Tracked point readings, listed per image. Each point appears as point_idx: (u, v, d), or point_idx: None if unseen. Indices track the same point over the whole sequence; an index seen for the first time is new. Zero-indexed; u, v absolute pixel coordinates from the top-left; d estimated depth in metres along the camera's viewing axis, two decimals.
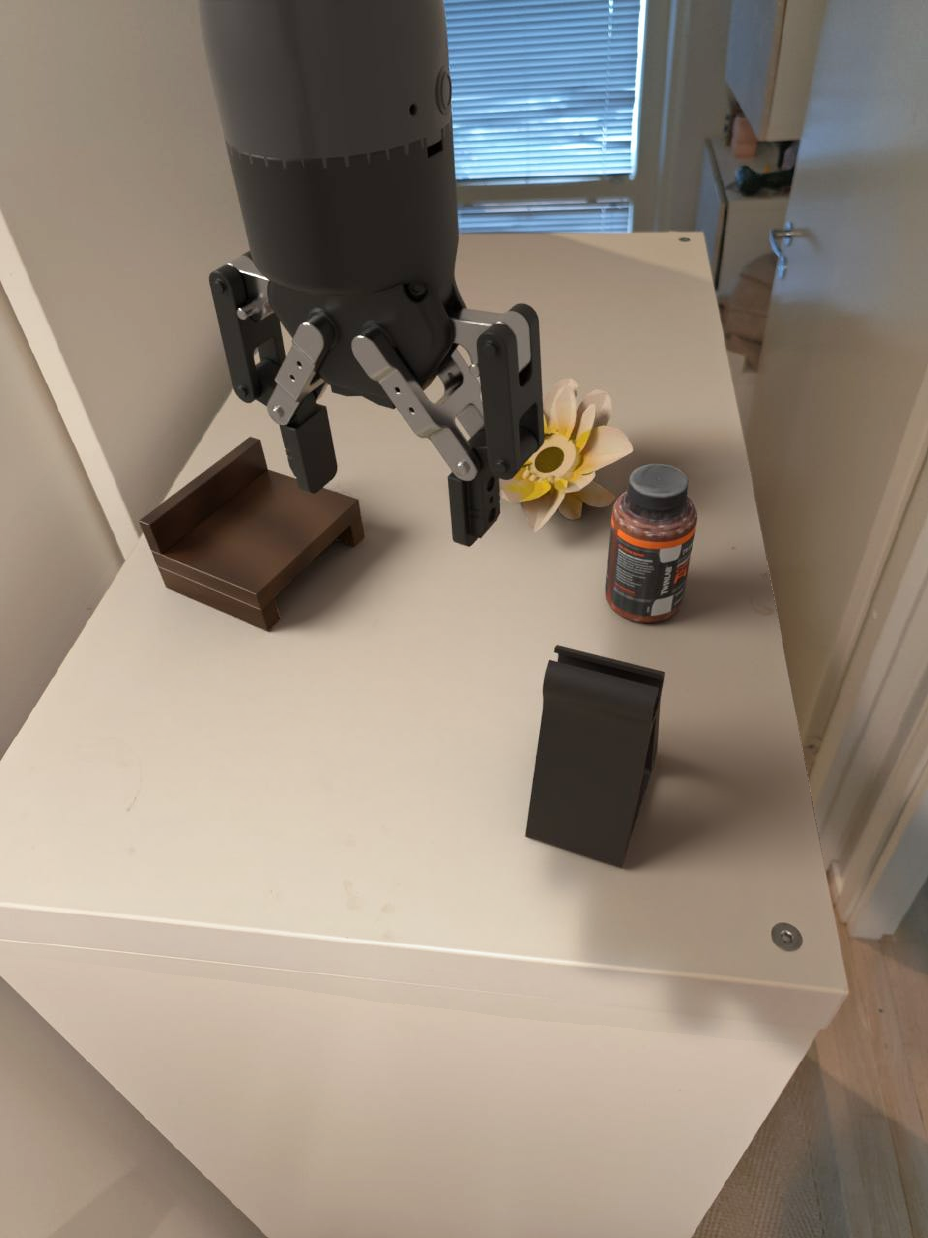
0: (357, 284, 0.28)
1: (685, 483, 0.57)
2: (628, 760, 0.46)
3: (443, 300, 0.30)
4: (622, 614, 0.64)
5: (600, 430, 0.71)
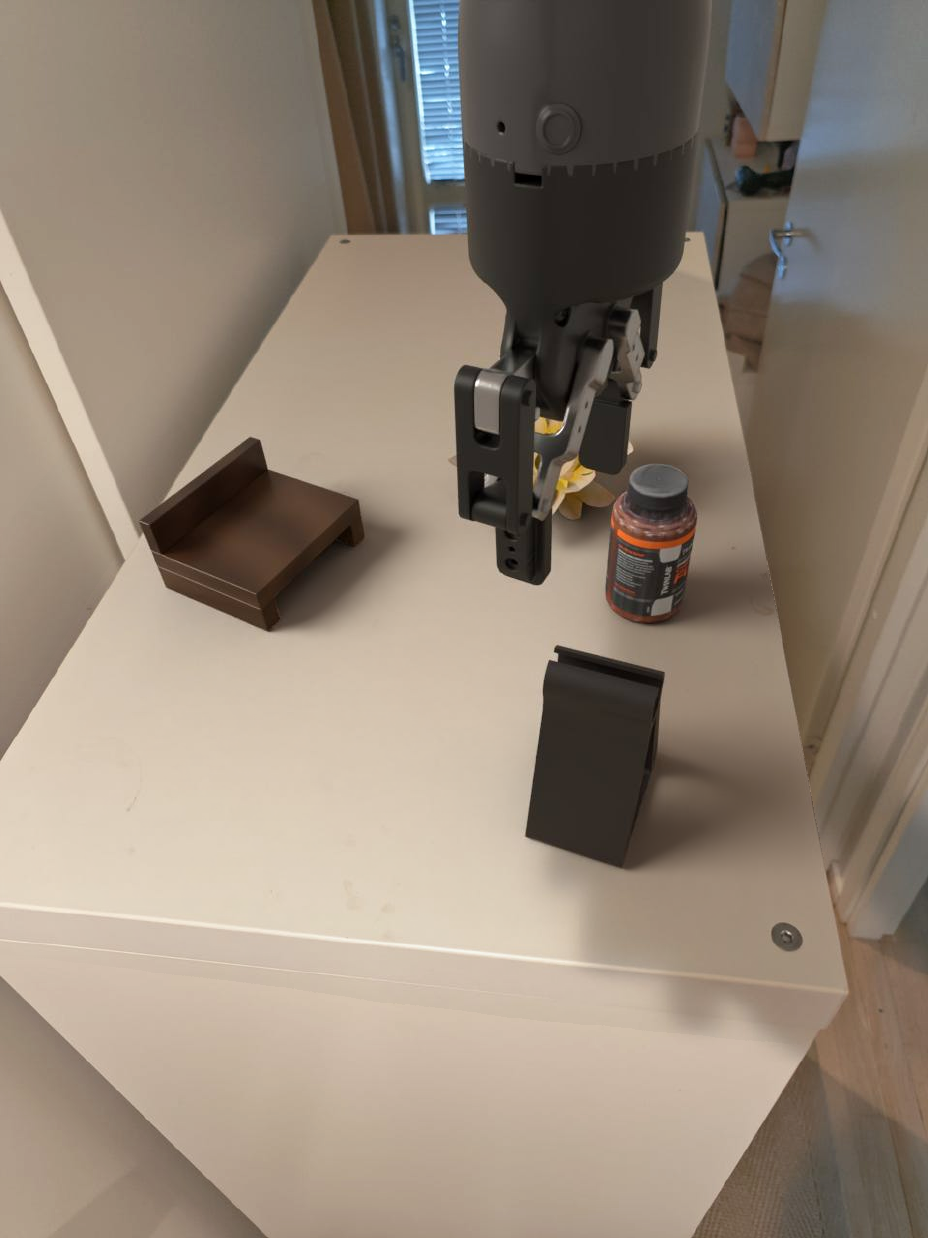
0: (469, 260, 0.30)
1: (685, 483, 0.57)
2: (628, 760, 0.46)
3: (523, 332, 0.29)
4: (622, 614, 0.64)
5: None
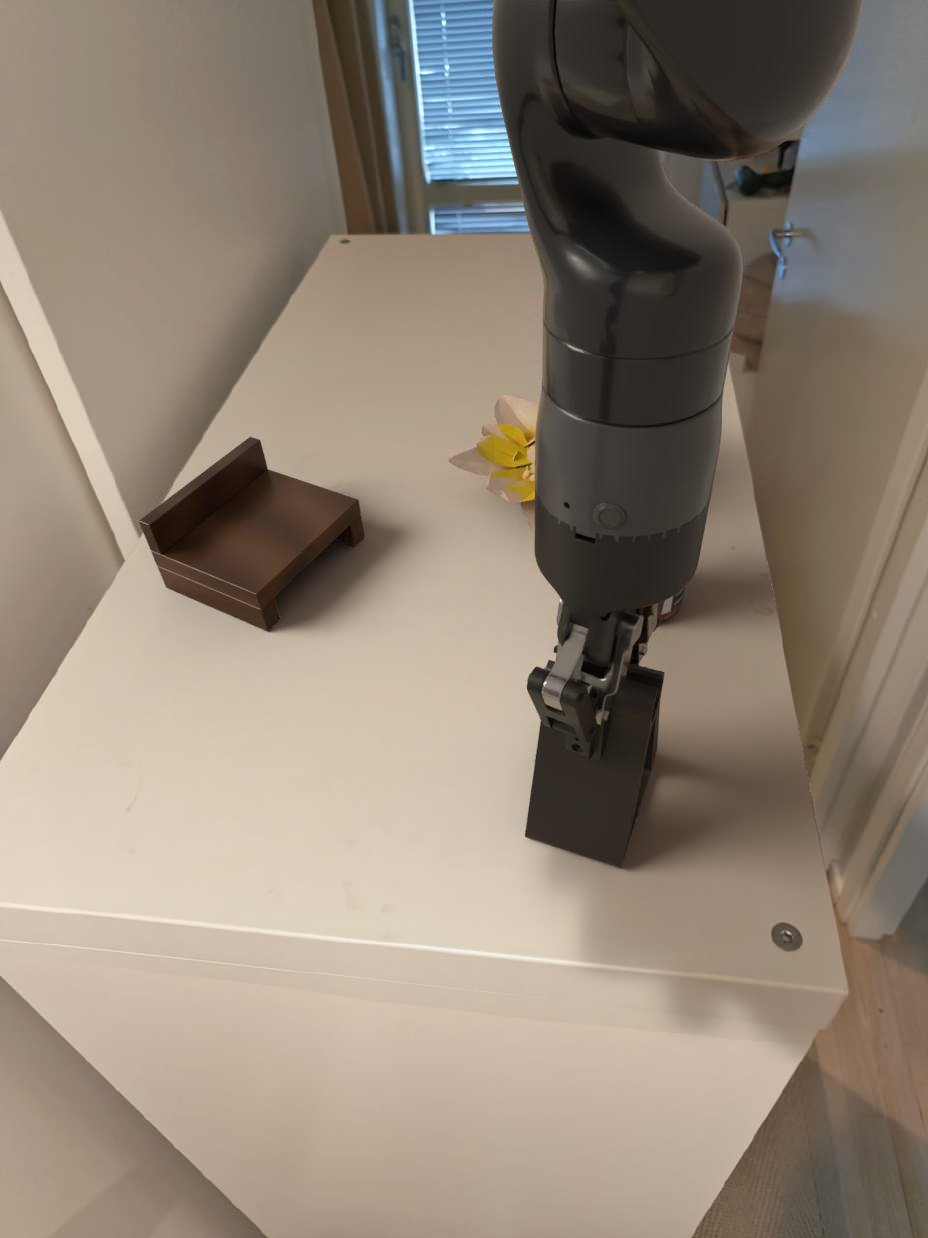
0: None
1: None
2: (628, 760, 0.46)
3: (576, 621, 0.38)
4: None
5: None
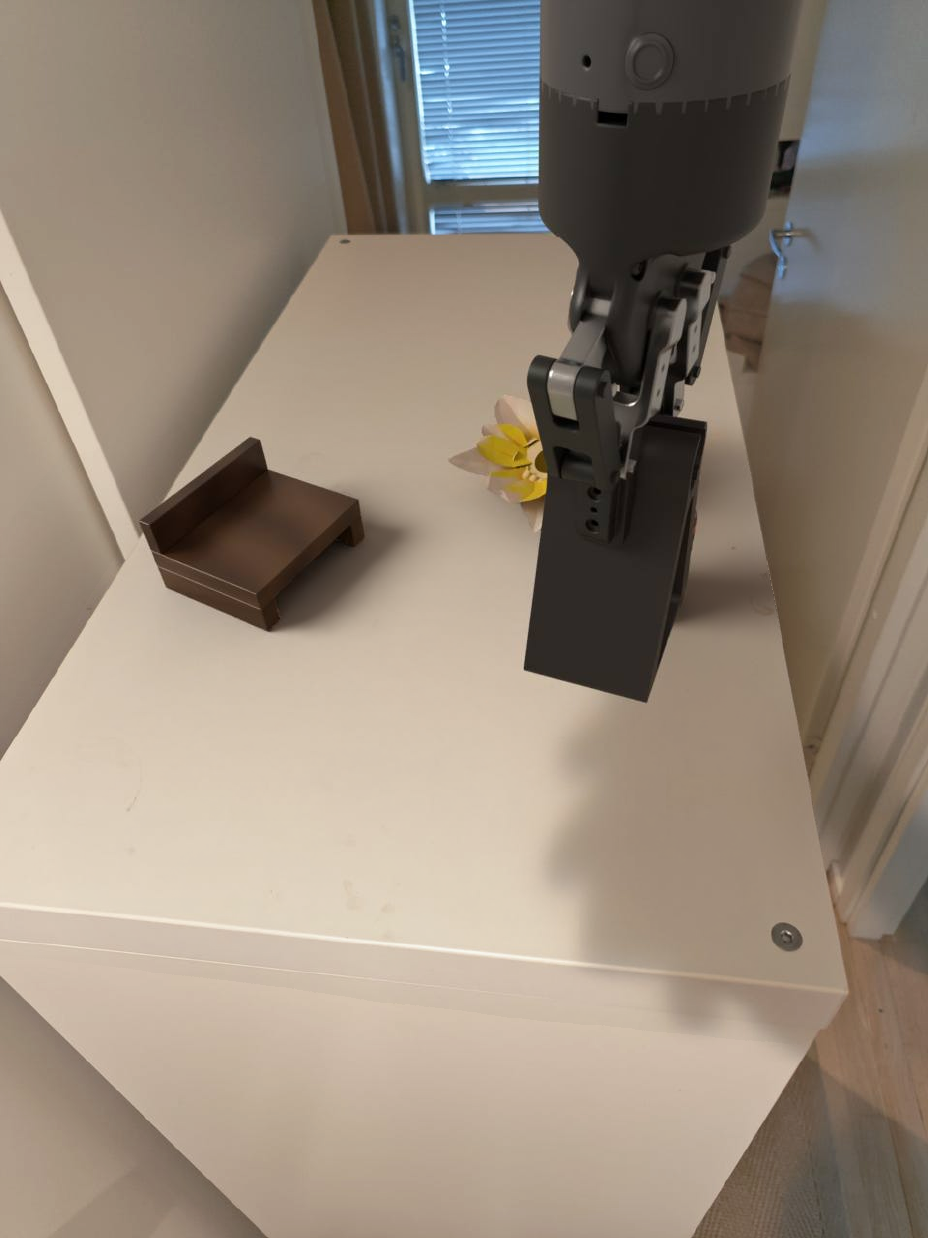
0: (539, 212, 0.28)
1: None
2: (658, 547, 0.36)
3: (596, 287, 0.27)
4: None
5: None
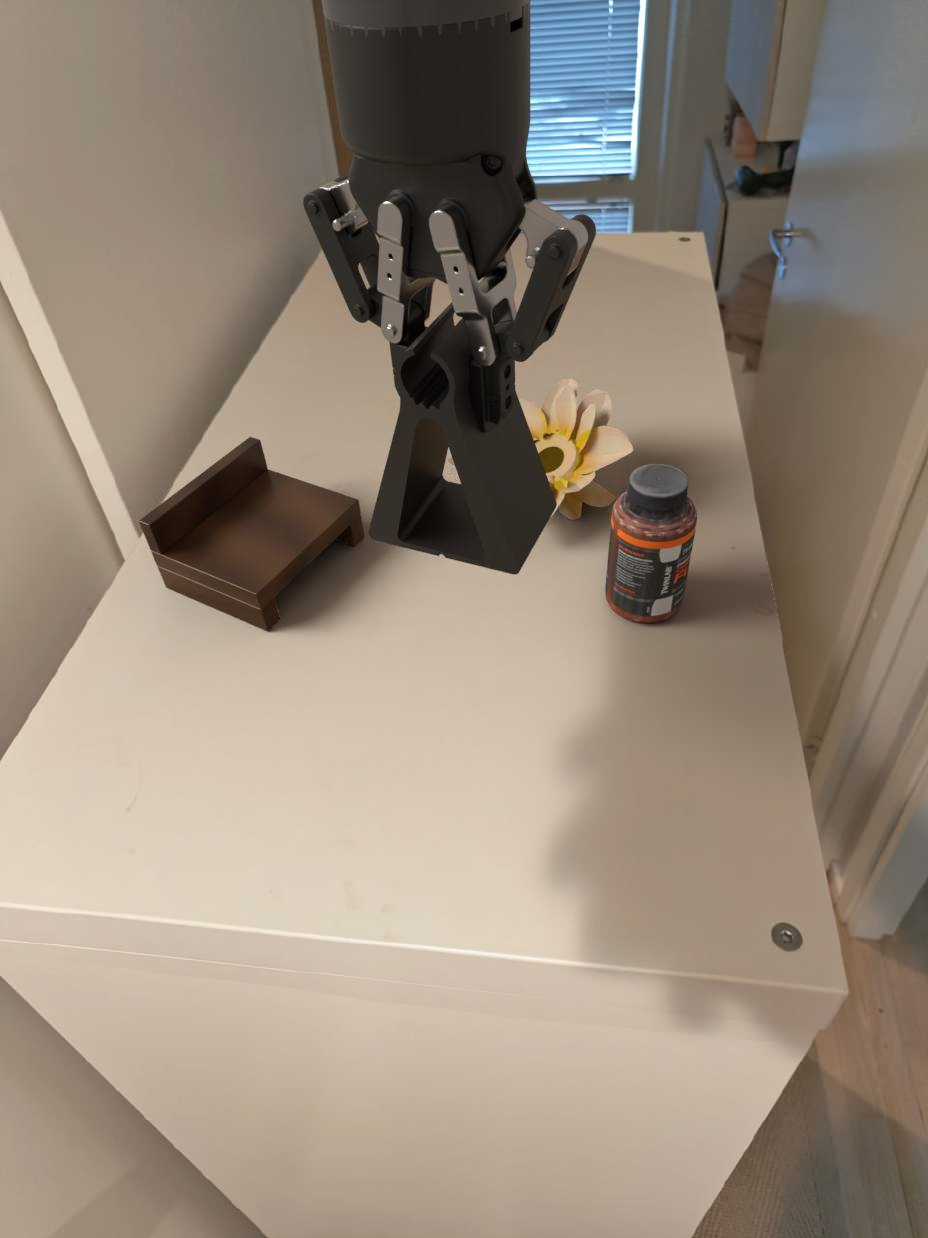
0: (441, 152, 0.31)
1: (685, 483, 0.57)
2: None
3: (515, 175, 0.33)
4: (622, 614, 0.64)
5: (600, 430, 0.71)
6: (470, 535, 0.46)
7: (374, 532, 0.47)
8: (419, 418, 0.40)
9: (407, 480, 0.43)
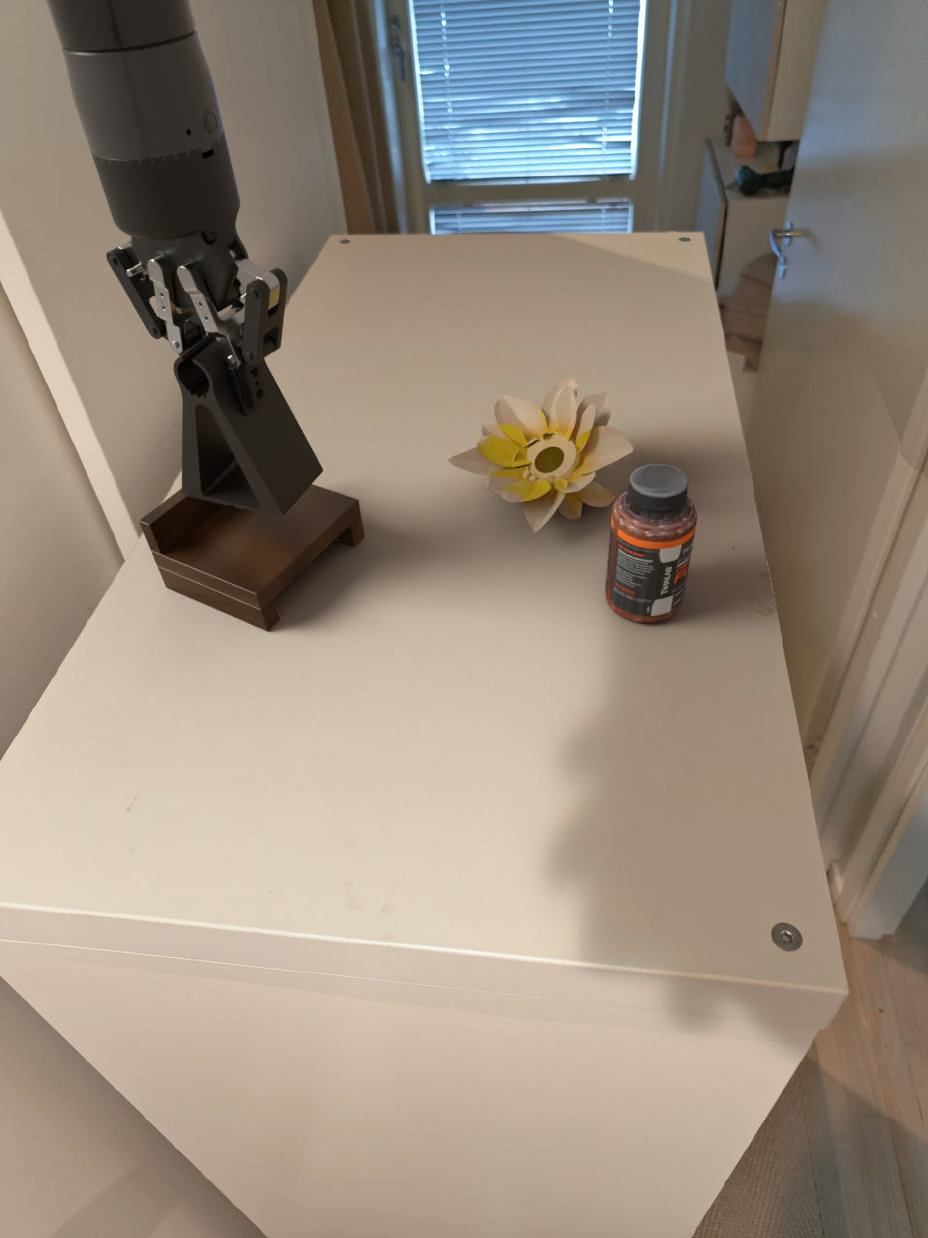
0: (168, 232, 0.48)
1: (685, 483, 0.57)
2: (271, 388, 0.61)
3: (227, 244, 0.50)
4: (622, 614, 0.64)
5: (600, 430, 0.71)
6: None
7: (185, 490, 0.64)
8: (195, 404, 0.57)
9: (198, 450, 0.60)
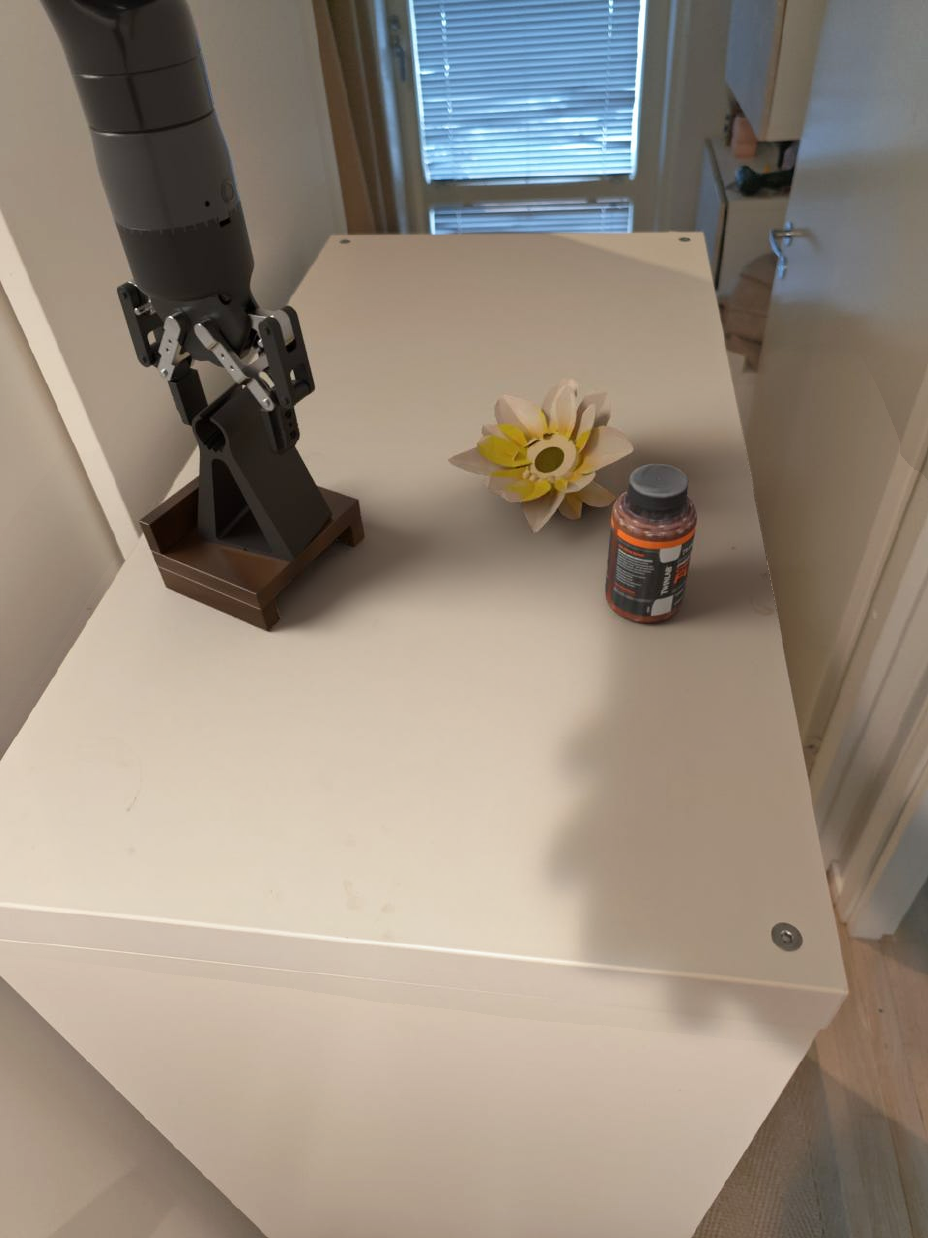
0: (187, 294, 0.51)
1: (685, 483, 0.57)
2: None
3: (242, 303, 0.53)
4: (622, 614, 0.64)
5: (600, 430, 0.71)
6: None
7: (201, 534, 0.67)
8: (212, 458, 0.60)
9: (214, 498, 0.64)
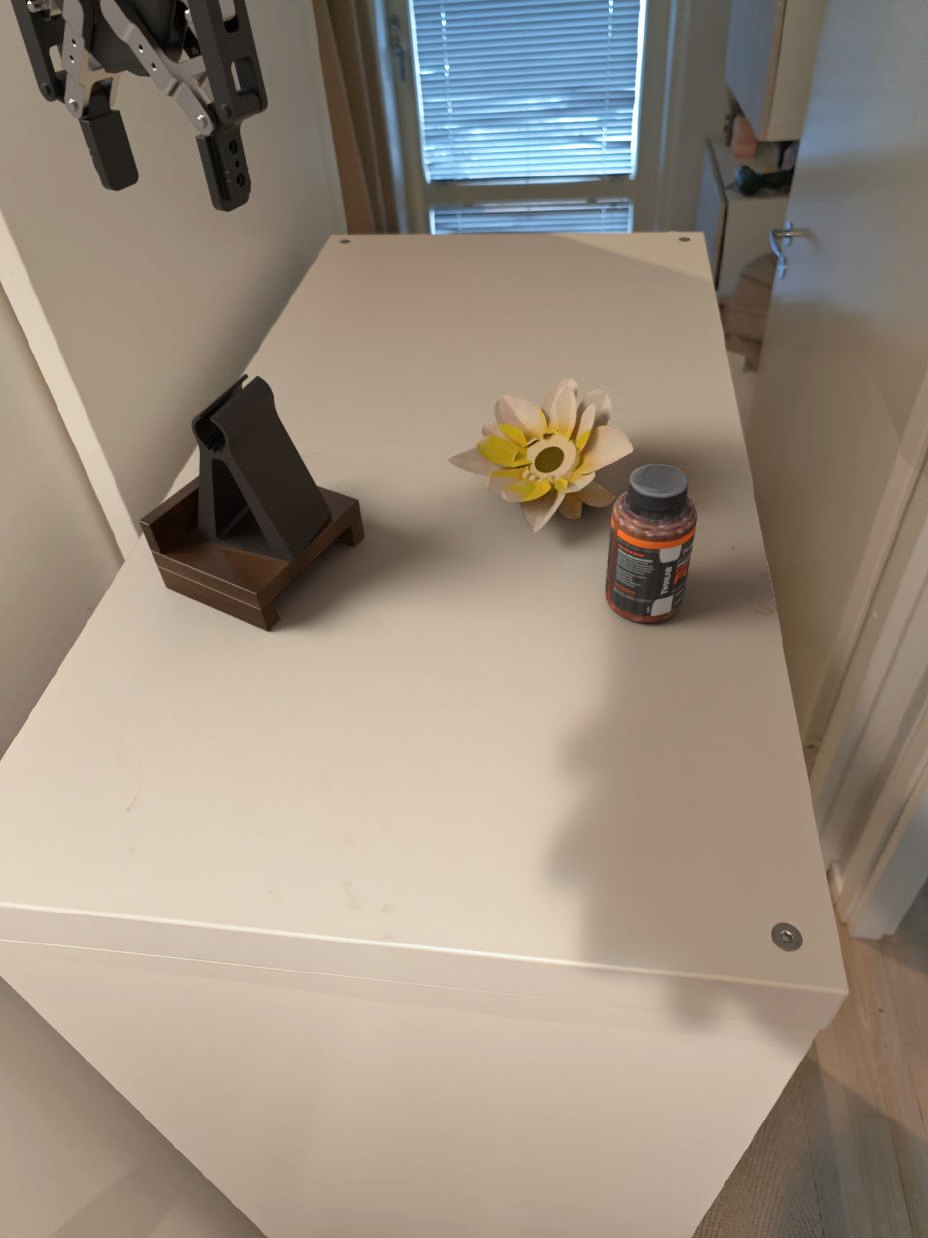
0: None
1: (685, 483, 0.57)
2: (283, 440, 0.64)
3: None
4: (622, 614, 0.64)
5: (600, 430, 0.71)
6: None
7: (201, 534, 0.67)
8: (212, 458, 0.60)
9: (214, 498, 0.64)
